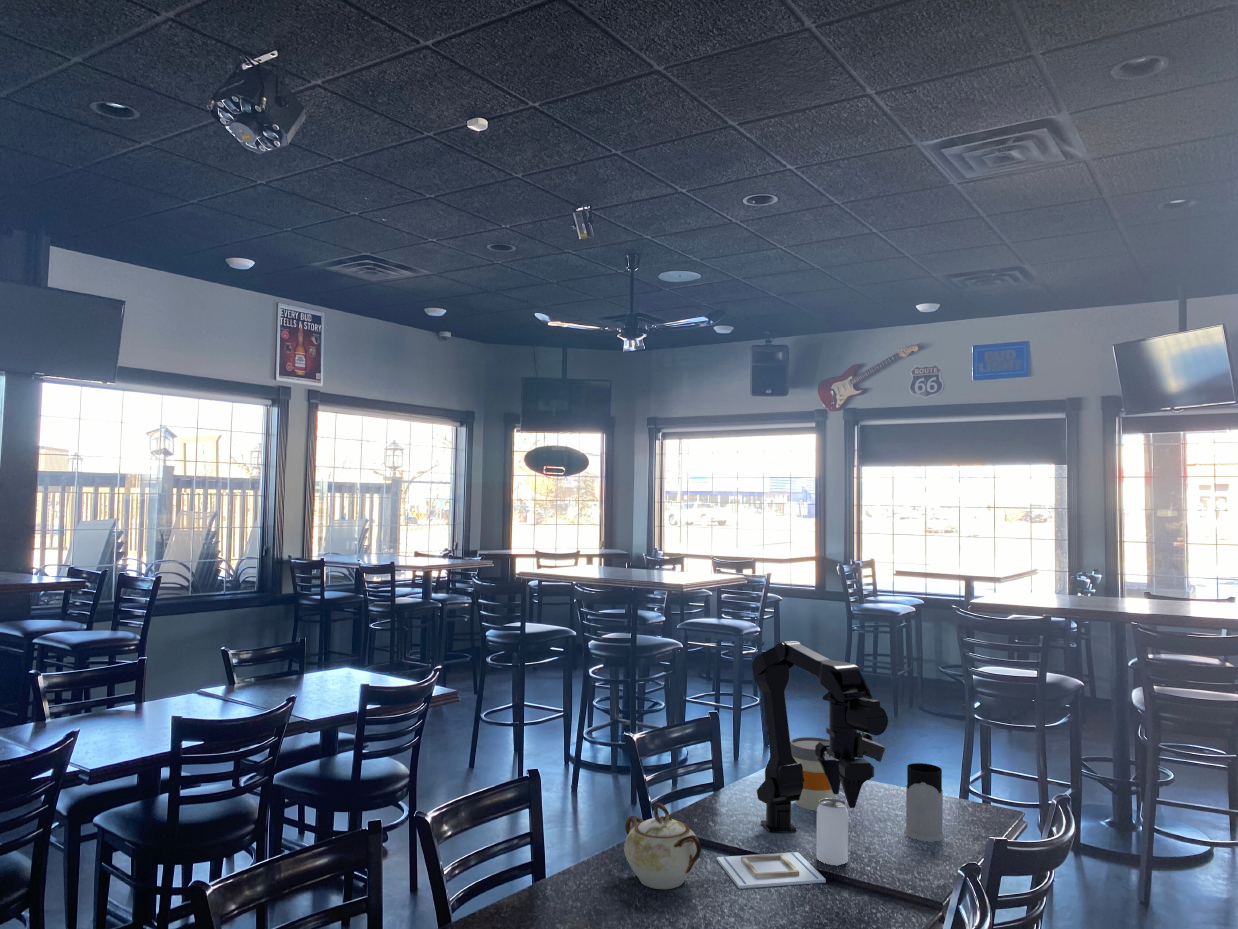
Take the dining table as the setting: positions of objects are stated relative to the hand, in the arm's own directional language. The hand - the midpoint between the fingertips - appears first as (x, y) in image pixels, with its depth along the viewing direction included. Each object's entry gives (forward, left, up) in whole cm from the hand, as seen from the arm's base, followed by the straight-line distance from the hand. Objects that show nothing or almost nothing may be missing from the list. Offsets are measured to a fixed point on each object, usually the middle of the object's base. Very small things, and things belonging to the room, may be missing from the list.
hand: (843, 800), depth 188 cm
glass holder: (-14, +27, -13) cm, 33 cm away
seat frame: (+2, -17, -13) cm, 21 cm away
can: (-1, -2, -13) cm, 13 cm away
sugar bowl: (+3, -40, -13) cm, 42 cm away
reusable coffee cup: (-35, +9, -13) cm, 39 cm away
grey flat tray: (+2, -17, -13) cm, 21 cm away
